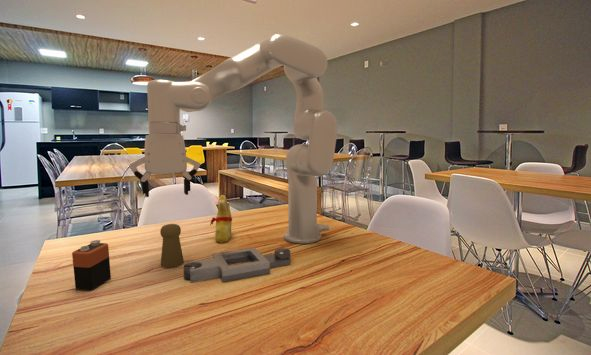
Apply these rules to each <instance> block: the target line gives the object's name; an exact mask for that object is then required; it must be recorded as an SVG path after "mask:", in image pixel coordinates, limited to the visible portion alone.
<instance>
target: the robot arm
mask: <svg viewBox="0 0 591 355" xmlns="http://www.w3.org/2000/svg"><path fill="white" fill-rule="evenodd" d="M280 67H283V70H284V74H285V76H286V77H287V79H288V80H289V81H290V82H291V83H292V85H293V86H294V89H295V92H296V104H295V105H296V106H295V113H294V120H293V121H294V122H293V133H294V135H295V136H296V137H297V138H298V139H300V140H303V141H308V143H307V144H305V143H303V144H301V143H299V144H295V145H292V146H291V147H290V148H289V149H288V151H287V153H286V156H285V167H286V168H285V169H286V173H287V179H288V180H287V183H288V184H287V186H288V194H287V195H288V201H287V202H288V209H287V210H288V215H287V217H288V225H287V226H288V227H287V228H288V231H286V232H284V233H283V239H284V241H287V242H289V243H294V244H302V245H303V244H312V243H313V244H314V243H316V242H319V241H320V240H321V239H322V233H321V232H323V231H329V230H330V226H329V224H322V223H319V224H318V222H317V220H318V219H317V217H318V182H317V178H316V177H322V176H325V175H327V174H328V173H329V172H330V170H331V169H332V166H333V164H334V159H335V151H336V144H337V135H338V124H337V123H338V122H337V119H336V117H335V116H334V115H333V113H332V112H331V111H329V110H326V109H323V107H324V106H323V104H324V91H323V88H322V85H321V84H320V81H319V80H318V79H317V78H319V77H321V76H323V74H324V73H326V70H327V68H328V57H327V56H326V54H325V53H324V51H323V50H322V49H321V48H319V47H317V46H315V45H314V44H313V45H312V44H310V43H308V42H306V41H303V40H301V39H299V38H296V37H293V36H291V35H288V34H284V33H275V34H273V35H270V36H268V37H267V38H265V39H262V40H260V41H258V42H257V43H255V44H252V45H251V46H250V47H248V48H246V49H244V50H242V51H241V52H237V53H236V54H235V55H234V54H233V56H230V57H229V58H227V59H225V60H224V61H222V62H221V63H219V64H218V65H216V66H215V67H214V68H212V69H211V70H209V71H207V72H204V73H203V74H201V75H200V76H198V77H196V78H194V79H192V80H190V81H173V80H169V79H152V80H150V81H148V83H147V86H146V89H147V90H146V93H147V110H148V111H147V112H148V113H147V114H148V116H147V117H148V135H147V134H146V135H145V140H144V157H142V158H139V159H137V160H136V161H133V162H132V163H129V164H128V168H130V169H129V170H130V171H131V172H132V174H133V175H134V176H135V177H136V178H137V179H139V180H140V181H141V183H142V184H141V186H142V194H143V195H144V194H145V198H149V197H150V191H149V188H150V187H149V180H148V179H149V178H150V176H151V175H166V174H167V175H171V174H182V175H183V176H184V179H183V193H184V195H186V196H188V195H189V192H191V180H192V178H193V177H194V176H195V175H196V174H197V173H198V170H199V168H200V166H201V163H200V162H199V161H196V160H194V159H192V158H190V157H189V156H187V152H186V151H187V150H186V145H185V139H184V135H181V134H182V132H185V131H187V125H183V124H181V115H180V112H181V111H182V112H185V113H194V112H200V111H203V110H205V109H207V108H208V107H209V106H210V105H211V103H212V101H213V100H216V99H217V98H219V97H221V96H224V95H226V94H227V93H228V94H229V93H231V92H234V91H237V90H239V89H242V88H244V87H246V86H248V85H249V84H251V83H252V82H254V81H256V80H257V79H259V78H261V77H262V76H264V75H266V74H267V73H269V72H271V71H273V70H275V69H276V68H280ZM180 110H181V111H180ZM142 164H144V169H145V172H144V173H143V174H142V172H140V171H139V170H138V167H139V166H141V165H142ZM187 164H191V165H192V166H193V167H192V169H191V170H190V171H189V172H188V171H187V169H188V168H187V167H188V165H187Z"/></svg>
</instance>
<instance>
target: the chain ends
mask: <svg viewBox="0 0 591 355" xmlns="http://www.w3.org/2000/svg"><path fill="white" fill-rule="evenodd" d="M290 265H291V250H290V249H289V248H284V247H283V248H276V249H275V250H274V251H273V253H268V254H263V253H261V252H260V251H259V250H258V249H257V248H256V247H250V248H249V247H248V248H243V249H236V250H230V251H223V252H217V253H212V257H210V258H205V259H197V260H191V261H186V264H185V263H184V264H183V279H184V281H187V282H190V283H191V284H192V283H198V282H202V281H207V280H208V281H209V280H214V279H220V280H221V282H222V283H227V282H233V281H238V280H242V279H243V280H244V279H249V278H254V277H259V276H264V275H269V274H270V269H273V268H274V269H275V268H279V267H285V266H290Z"/></svg>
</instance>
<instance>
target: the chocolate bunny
mask: <svg viewBox="0 0 591 355" xmlns="http://www.w3.org/2000/svg"><path fill="white" fill-rule="evenodd" d="M217 206H218V209H217V214H216V216H215V217H212V218H211V220H210V226H212V225H213V224H214V222H215V234H214V235H215V236H214V237H215V239H214V241H215V242H217V243H219V244H221V243H222V244H223V243H227V242H228V241H229V239H230V237H231V236H232V232H233V231H232V225H233V224H232V221H233V216H232V212H231V208H230V206H229V204H228V200H227V196H226V195H225V194H221V195H220V196H219V199H218V201H217Z"/></svg>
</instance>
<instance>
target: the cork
mask: <svg viewBox="0 0 591 355" xmlns="http://www.w3.org/2000/svg"><path fill="white" fill-rule="evenodd" d="M159 232H160V236H161V237H162V246H161V255H160V256H161V257H160V258H161V259H160V268H163V269H175V268H179V267H182V266H184V265H185V260H184V254H183V251H182V244H181V239H180V235H181V232H182V229H181V226H180V225H179V224H178V223H168V224H164V225H162V227H161V228H160V231H159Z"/></svg>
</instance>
